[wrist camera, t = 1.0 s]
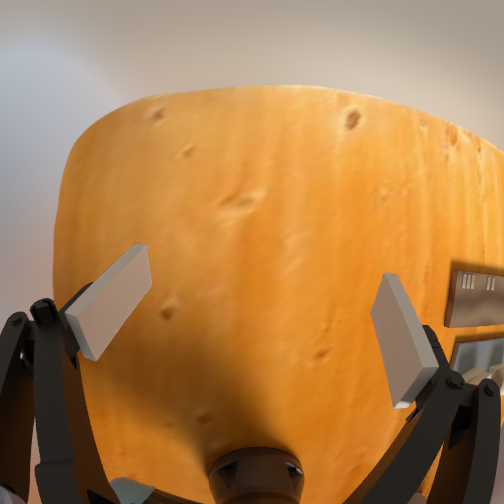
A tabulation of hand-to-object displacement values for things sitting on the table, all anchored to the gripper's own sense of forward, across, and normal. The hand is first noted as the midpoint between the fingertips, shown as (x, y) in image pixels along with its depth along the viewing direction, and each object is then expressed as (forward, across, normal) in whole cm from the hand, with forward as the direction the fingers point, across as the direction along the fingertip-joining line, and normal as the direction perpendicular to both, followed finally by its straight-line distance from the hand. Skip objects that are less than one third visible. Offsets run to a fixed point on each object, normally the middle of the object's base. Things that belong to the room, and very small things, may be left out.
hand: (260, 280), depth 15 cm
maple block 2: (+14, -48, +27) cm, 57 cm away
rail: (+22, -43, +14) cm, 50 cm away
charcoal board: (+15, -43, +26) cm, 52 cm away
